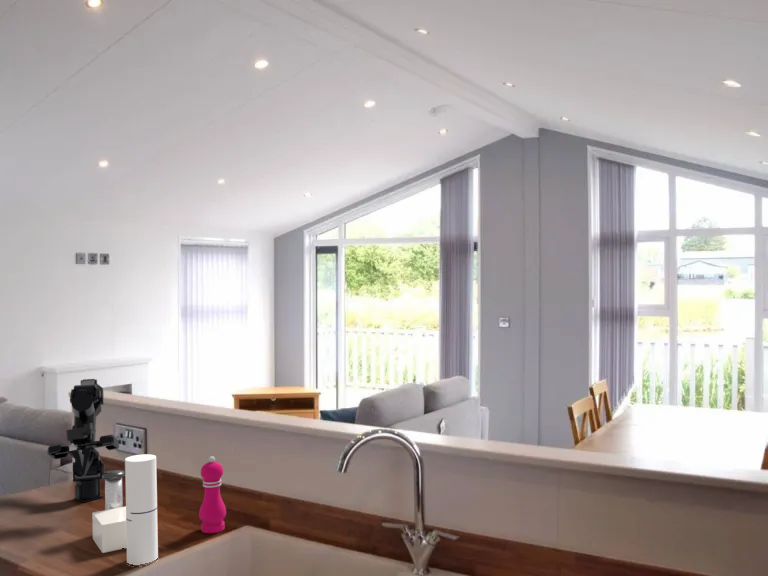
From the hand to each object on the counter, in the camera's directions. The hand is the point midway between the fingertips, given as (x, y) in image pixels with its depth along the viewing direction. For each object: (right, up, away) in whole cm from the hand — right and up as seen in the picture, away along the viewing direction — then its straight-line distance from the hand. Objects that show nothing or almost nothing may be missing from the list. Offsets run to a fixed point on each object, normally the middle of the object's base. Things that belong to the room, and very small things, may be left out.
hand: (83, 475), depth 202 cm
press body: (+18, -12, -18) cm, 28 cm away
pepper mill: (+40, -12, -10) cm, 43 cm away
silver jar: (+15, -12, -14) cm, 24 cm away
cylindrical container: (+28, -12, -32) cm, 44 cm away
